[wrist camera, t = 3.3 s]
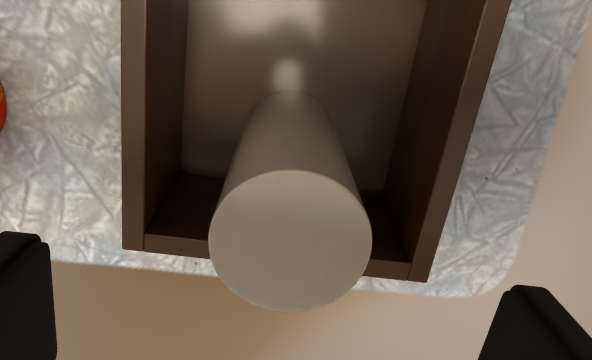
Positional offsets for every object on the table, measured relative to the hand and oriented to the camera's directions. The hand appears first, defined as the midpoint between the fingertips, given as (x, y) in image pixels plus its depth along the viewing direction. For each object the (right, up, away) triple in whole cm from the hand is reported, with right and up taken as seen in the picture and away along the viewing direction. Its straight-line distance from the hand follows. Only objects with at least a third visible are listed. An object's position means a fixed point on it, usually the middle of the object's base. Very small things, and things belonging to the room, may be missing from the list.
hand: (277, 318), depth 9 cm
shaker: (0, +5, +12) cm, 13 cm away
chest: (+1, +8, +11) cm, 14 cm away
